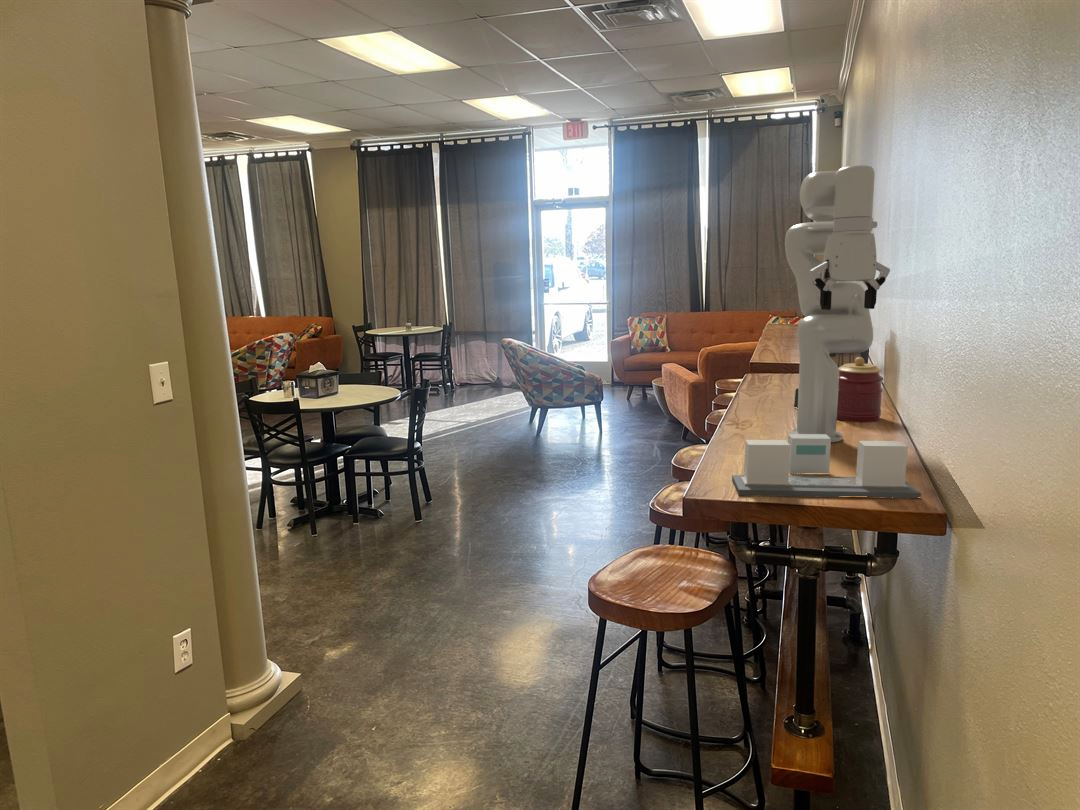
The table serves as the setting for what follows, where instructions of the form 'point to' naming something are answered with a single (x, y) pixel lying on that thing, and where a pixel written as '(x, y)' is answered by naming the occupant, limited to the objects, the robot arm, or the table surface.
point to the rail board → (822, 490)
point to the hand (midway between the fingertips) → (847, 309)
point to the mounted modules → (873, 468)
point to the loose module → (809, 453)
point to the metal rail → (823, 483)
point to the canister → (859, 392)
